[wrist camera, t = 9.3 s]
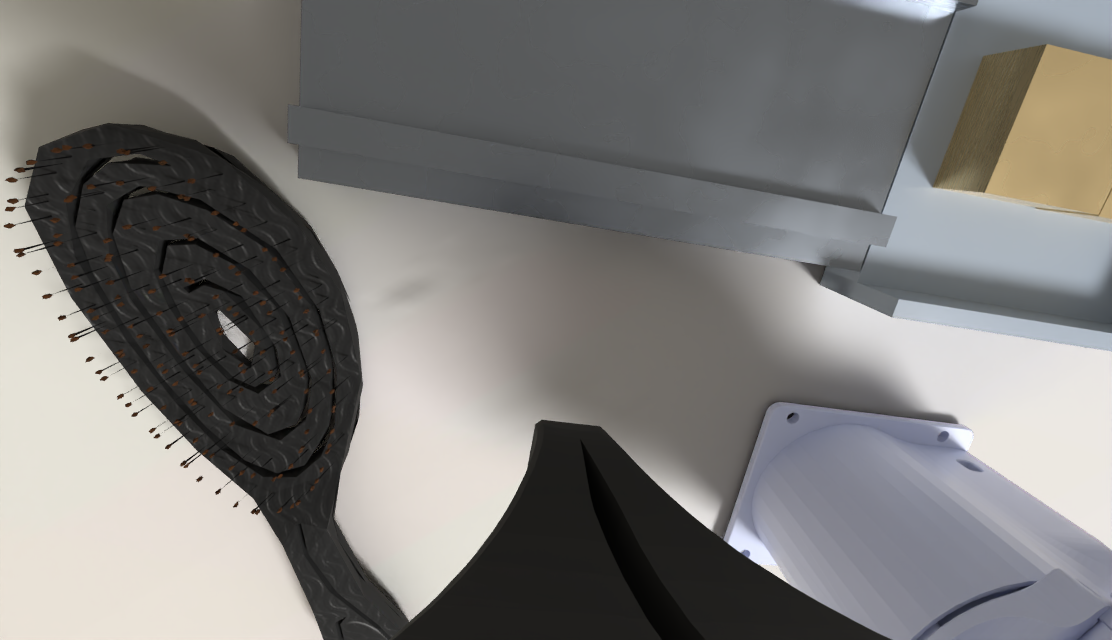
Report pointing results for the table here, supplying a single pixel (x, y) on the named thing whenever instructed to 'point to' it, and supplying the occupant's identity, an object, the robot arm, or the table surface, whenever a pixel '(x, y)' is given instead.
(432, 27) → the slotted bar
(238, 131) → the table surface
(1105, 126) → the cream square block
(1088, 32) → the tray
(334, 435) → the hairbrush
